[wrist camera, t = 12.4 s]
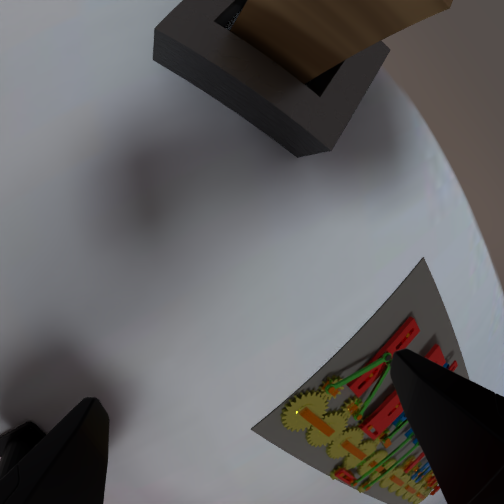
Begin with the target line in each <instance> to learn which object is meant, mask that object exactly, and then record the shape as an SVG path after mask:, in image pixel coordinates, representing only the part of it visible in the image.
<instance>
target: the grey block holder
mask: <svg viewBox="0 0 504 504" xmlns="http://www.w3.org/2000/svg"><path fill="white" fill-rule="evenodd" d="M247 1H248V0H183V1H182V2H181V3H180V4H179V5H178V6H176V7H175V8H174V9H173V10H172V11H171V12H170V13H169V14H168V15H167V16H166V17H165V18H164V19H163V20H162V21H161V22H160V23H159V24H158V25H157V26H156V27H155V29H154V46H153V60H154V61H156V62H157V63H159V64H161V65H162V66H164V67H166V68H167V69H169V70H171V71H172V72H174V73H176V74H177V75H179V76H181V77H182V78H184V79H186V80H187V81H189V82H190V83H192V84H193V85H195V86H197V87H198V88H200V89H201V90H203V91H204V92H206V93H207V94H209V95H211V96H212V97H214V98H215V99H217V100H218V101H220V102H221V103H223V104H224V105H226V106H227V107H229V108H230V109H231V110H233V111H234V112H236V113H237V114H239V115H240V116H242V117H243V118H244V119H246V120H247V121H249V122H250V123H252V124H253V125H254V126H256V127H257V128H259V129H260V130H261V131H263V132H264V133H265V134H267V135H268V136H270V137H271V138H272V139H274V140H275V141H276V142H278V143H279V144H280V145H282V146H283V147H284V148H286V149H287V150H288V151H289V152H291V153H292V154H293V155H295V156H296V157H297V158H298V157H303V156H307V155H312V154H317V153H322V152H327V151H331V150H332V149H333V147H334V145H335V144H336V142H337V140H338V139H339V137H340V135H341V134H342V132H343V130H344V129H345V127H346V125H347V123H348V122H349V120H350V118H351V117H352V115H353V113H354V112H355V110H356V108H357V107H358V105H359V103H360V101H361V100H362V98H363V96H364V95H365V93H366V91H367V89H368V88H369V86H370V84H371V83H372V81H373V79H374V77H375V76H376V74H377V72H378V71H379V69H380V67H381V65H382V64H383V62H384V60H385V58H386V57H387V55H388V53H389V52H390V49H389V48H388V47H387V46H386V45H385V44H384V43H383V42H382V41H379V42H377V43H375V44H373V45H371V46H369V47H367V48H366V49H364V50H362V51H360V52H358V53H356V54H355V55H353V56H351V57H349V58H348V59H346V60H344V61H342V62H340V63H339V64H337V65H335V66H334V67H332V68H330V69H329V70H327V71H325V72H323V73H322V74H320V75H318V76H317V77H315V78H314V79H312V80H311V82H310V83H309V85H308V86H306V85H304V84H303V83H302V82H301V81H299V80H298V79H297V78H295V77H294V76H293V75H292V74H290V73H289V72H288V71H286V70H285V69H284V68H282V67H281V66H280V65H278V64H277V63H276V62H274V61H273V60H271V59H270V58H269V57H267V56H266V55H264V54H263V53H262V52H260V51H259V50H257V49H256V48H254V47H253V46H251V45H250V44H248V43H247V42H245V41H244V40H242V39H241V38H239V37H238V36H236V35H235V34H233V33H232V32H230V31H229V30H227V29H225V28H224V26H225V25H226V24H227V23H228V22H229V21H230V20H231V19H232V18H233V17H234V16H235V15H236V14H237V13H238V12H239V11H240V10H241V9H242V8H243V7H244V6H245V4H246V2H247Z"/></svg>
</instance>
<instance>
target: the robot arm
mask: <svg viewBox="0 0 504 504" xmlns="http://www.w3.org/2000/svg"><path fill="white" fill-rule="evenodd" d="M390 376H391V379H392V382H393V384H394V387H395V390H396V392H397V395H398V397H399V400H400V403H401V406H402V408H403V411H404V413H405V416H406V418H407V420H408V422H409V424H410V426H411V428H412V430H413V432H414V434H415V436H416V438H417V440H418V442H419V444H420V446H421V448H422V450H423V452H424V455H425V457H426V459H427V461H428V463H429V465H430V467H431V469H432V471H433V473H434V475H435V478H436V480H437V482H438V484H439V486H440V488H441V491H442V493H443V495H444V497H445V499H446V502H447V504H504V397H503V396H501V395H499V394H495V393H494V392H492V391H490V390H488V389H486V388H484V387H482V386H480V385H478V384H476V383H474V382H472V381H470V380H468V379H466V378H464V377H462V376H460V375H458V374H457V373H455V372H453V371H451V370H449V369H447V368H445V367H443V366H441V365H439V364H437V363H435V362H433V361H431V360H429V359H427V358H425V357H423V356H421V355H419V354H417V353H415V352H413V351H411V350H409V349H407V348H404V349H401V350H398V351H395V352H394V354H393V357H392V363H391V369H390ZM31 428H32V429H31ZM108 441H109V416H108V414H107V412H106V411H105V409H104V407H103V406H102V404H101V403H100V401H99V400H98V399H97V398H95V397H86V398H84V399H83V400H82V401H81V402H80V403H79V404H78V405H77V406H75V407H74V408H73V409H72V410H71V411H70V412H69V413H68V414H67V415H66V416H65V417H64V418H63V419H62V420H61V421H60V422H59V423H58V424H57V425H56V426H55V427H54V428H53V429H52V430H51V431H50V432H49V433H48V434H47V435H46V434H45V433H44V432H43V431H41V430H40V429H39V428H38V427H37V426H36V425H35V424H34V423H32V422H26V423H25V424H23V425H21V426H19V427H18V428H16V429H14V430H12V431H11V432H9V433H7V434H5V435H3V436H2V437H0V457H1V459H0V504H103V501H104V491H105V482H106V473H107V465H108Z"/></svg>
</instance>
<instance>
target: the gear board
mask: <svg viewBox="0 0 504 504" xmlns="http://www.w3.org/2000/svg"><path fill="white" fill-rule="evenodd" d="M404 348H407V349H409V350H411V351H413V352H415V353H417V354H419V355H421V356H423V357H425V358H427V359H429V360H431V361H433V362H435V363H437V364H439V365H441V366H443V367H445V368H447V369H449V370H451V371H453V372H455V373H457V374H458V375H460V376H462V377H464V378H466V379H468V380H469V377H468V373H467V370H466V367H465V363H464V360H463V357H462V354H461V351H460V348H459V345H458V342H457V339H456V336H455V333H454V330H453V327H452V325H451V322H450V319H449V317H448V314H447V311H446V309H445V306H444V304H443V301H442V299H441V296H440V294H439V291H438V289H437V286H436V284H435V282H434V279H433V277H432V275H431V272H430V270H429V268H428V266H427V263H426V261H425V259H424V257H423V258H422V259H421V260H420V261H419V263H418V264H417V265H416V266H415V268H414V269H413V270H412V271H411V272H410V274H409V275H408V276H407V277H406V278H405V280H404V281H403V282H402V283H401V284H400V286H399V287H398V288H397V289H396V290H395V291H394V292H393V294H392V295H391V296H390V297H389V298H388V299H387V300H386V302H385V303H384V304H383V305H382V306H381V307H380V308H379V309H378V310H377V312H376V313H375V314H374V315H373V316H372V317H371V318H370V319H369V320H368V321H367V322H366V323H365V324H364V325H363V327H362V328H361V329H360V330H359V331H358V332H357V333H356V334H355V335H354V336H353V337H352V338H351V339H350V340H349V341H348V342H347V343H346V344H345V345H344V346H343V347H342V348H341V349H340V350H339V351H338V352H337V353H336V354H335V355H334V356H333V357H332V358H331V359H330V360H329V361H328V362H327V363H326V364H325V365H324V366H323V367H321V368H320V369H319V370H318V371H317V372H316V373H315V374H314V375H313V376H312V377H311V378H310V379H309V380H307V381H306V382H305V383H304V384H303V385H302V386H301V387H300V388H299V389H298V390H296V391H295V392H294V393H293V394H292V395H291V396H290V397H288V398H287V399H286V400H285V401H284V402H283V403H281V404H280V405H279V406H278V407H277V408H276V409H274V410H273V411H272V412H271V413H270V414H268V415H267V416H266V417H265V418H264V419H262V420H261V421H260V422H259V423H257V424H256V425H255V426H254V427H252V428H251V430H252V431H254V432H255V433H257V434H259V435H260V436H262V437H263V438H265V439H266V440H268V441H269V442H271V443H273V444H274V445H276V446H278V447H279V448H281V449H282V450H284V451H286V452H287V453H289V454H291V455H292V456H294V457H296V458H298V459H299V460H301V461H303V462H305V463H306V464H308V465H310V466H312V467H313V468H315V469H317V470H319V471H321V472H323V473H325V474H326V475H328V476H330V477H331V478H332V479H333V480H334V479H336V480H338V481H340V482H342V483H344V484H346V485H348V486H350V487H352V488H354V489H356V490H358V491H359V492H360V493H361V492H362V493H365V494H367V495H369V496H371V497H373V498H376V499H378V500H380V501H383V502H385V503H387V504H418V503H420V502H421V501H422V500H424V499H425V498H426V497H427V496H428V495H429V493H430V492H431V490H433V489H434V490H433V491H432V492H431V493H430V495H434V494H435V492H437V491H438V490H439V489H440V486H437V485H438V482H437V480H436V478H435V475H434V473H433V471H432V469H431V467H430V465H429V463H428V461H427V459H426V457H425V455H424V452H423V450H422V448H421V446H420V444H419V442H418V440H417V438H416V436H415V434H414V432H413V430H412V428H411V426H410V424H409V422H408V420H407V418H406V416H405V413H404V411H403V408H402V406H401V403H400V400H399V397H398V395H397V392H396V390H395V387H394V384H393V382H392V379H391V376H390V369H391V363H392V357H393V354H394V352H395V351H398V350H401V349H404Z"/></svg>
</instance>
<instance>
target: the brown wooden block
mask: <svg viewBox="0 0 504 504" xmlns="http://www.w3.org/2000/svg"><path fill="white" fill-rule="evenodd" d="M452 1H453V0H248V1H247V2H246V4H245V6H244V7H243V9H242V11H241V12H240V14H239V16H238V17H237V19H236V21H235V23H234V24H233V26H232V28H231V30H230V32H232V33H233V34H235V35H236V36H238V37H239V38H241V39H242V40H244V41H245V42H247V43H248V44H250V45H251V46H253V47H254V48H256V49H257V50H259V51H260V52H262V53H263V54H264V55H266V56H267V57H269V58H270V59H271V60H273V61H274V62H276V63H277V64H278V65H280V66H281V67H282V68H284V69H285V70H286V71H288V72H289V73H290V74H292V75H293V76H294V77H295V78H297V79H298V80H299V81H301V82H302V83H303V84H305V83H307V82H309V81H310V80H312V79H314V78H315V77H317V76H318V75H320V74H322V73H323V72H325V71H327V70H329V69H330V68H332V67H334V66H335V65H337V64H339V63H340V62H342V61H344V60H346V59H348V58H349V57H351V56H353V55H355V54H356V53H358V52H360V51H362V50H364V49H366V48H367V47H369V46H371V45H373V44H375V43H377V42H379V41H381V40H383V39H385V38H386V37H388V36H390V35H392V34H394V33H396V32H398V31H401V30H402V29H405V28H407V27H409V26H411V25H413V24H415V23H417V22H419V21H421V20H424V19H426V18H428V17H430V16H433V15H435V14H437V13H440V12H442V11H444V10H447V9H449V8H450V6H451V4H452Z"/></svg>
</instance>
